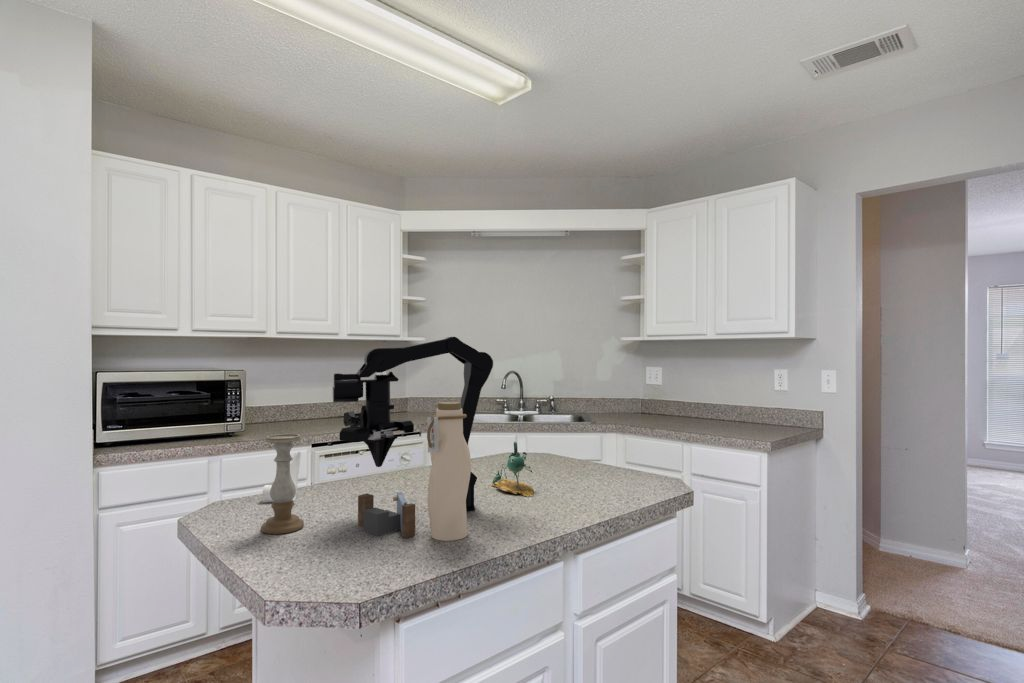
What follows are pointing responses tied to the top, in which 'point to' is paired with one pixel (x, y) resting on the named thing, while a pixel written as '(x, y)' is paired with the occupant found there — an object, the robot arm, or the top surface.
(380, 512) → the dark grey stepped block
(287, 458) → the candle holder
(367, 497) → the frame
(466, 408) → the robot arm
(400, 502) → the door
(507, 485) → the frog figurine
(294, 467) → the plastic part
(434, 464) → the water bottle
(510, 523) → the top surface
